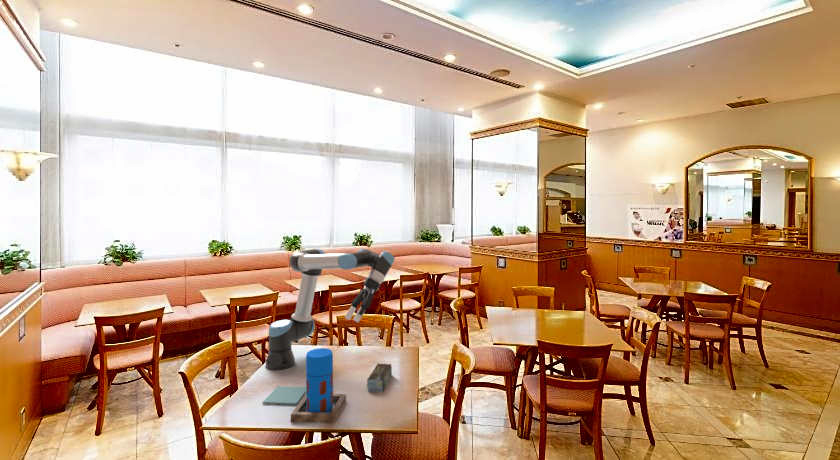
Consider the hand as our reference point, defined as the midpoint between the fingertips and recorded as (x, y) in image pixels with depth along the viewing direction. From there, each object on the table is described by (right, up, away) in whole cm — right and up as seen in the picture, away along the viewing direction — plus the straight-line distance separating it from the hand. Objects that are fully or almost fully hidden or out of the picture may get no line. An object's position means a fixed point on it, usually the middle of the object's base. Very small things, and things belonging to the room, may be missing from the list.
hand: (351, 320), depth 176 cm
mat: (-29, -34, -3) cm, 45 cm away
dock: (-10, -35, -15) cm, 39 cm away
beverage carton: (+12, -34, +12) cm, 38 cm away
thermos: (-10, -35, -15) cm, 40 cm away
